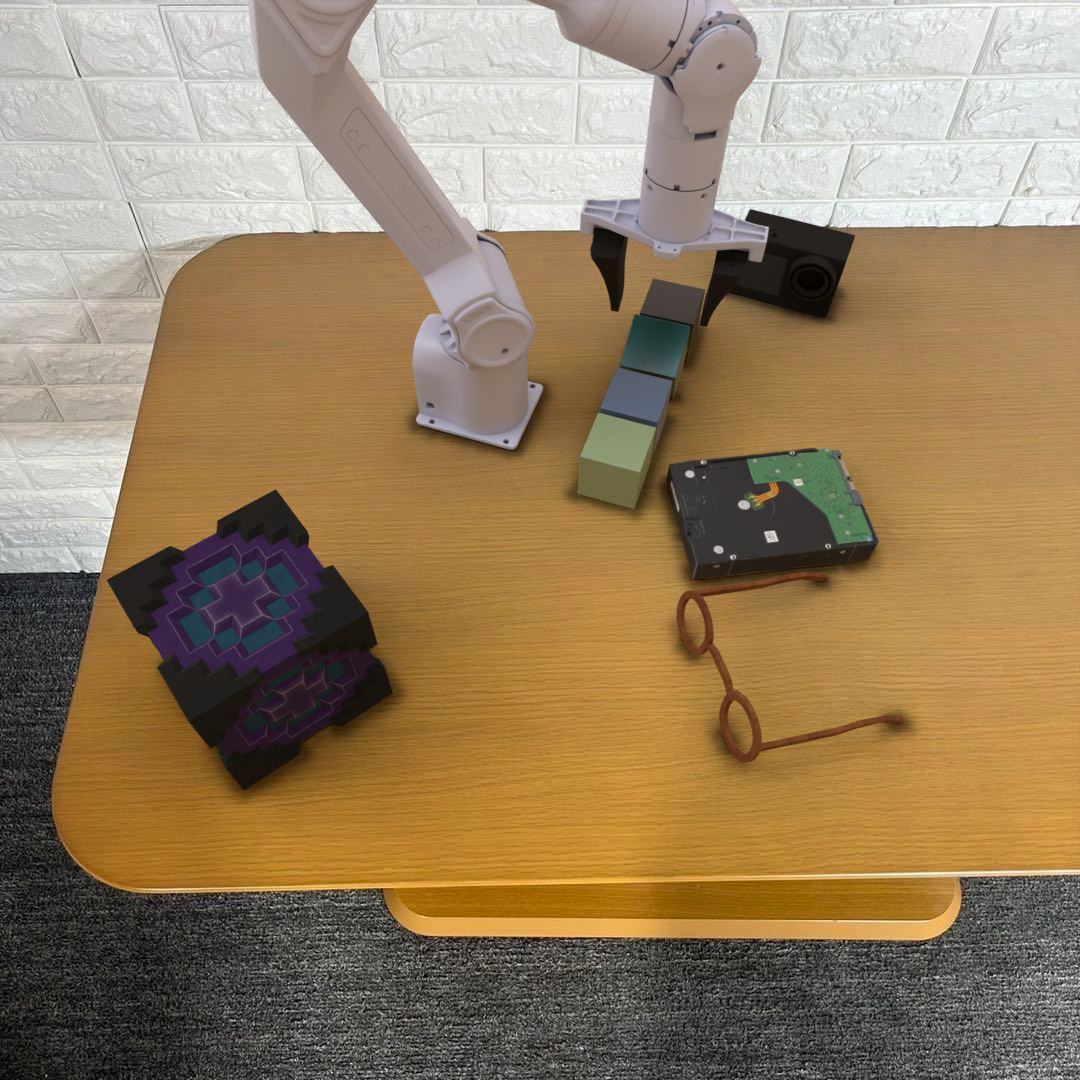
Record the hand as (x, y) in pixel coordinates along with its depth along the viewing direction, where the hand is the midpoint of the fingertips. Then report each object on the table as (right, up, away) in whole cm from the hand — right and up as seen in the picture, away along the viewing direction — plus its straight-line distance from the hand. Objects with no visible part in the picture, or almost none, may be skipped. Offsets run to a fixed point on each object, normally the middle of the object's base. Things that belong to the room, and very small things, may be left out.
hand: (660, 311), depth 77 cm
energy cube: (-30, -30, -11) cm, 44 cm away
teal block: (0, -4, +6) cm, 7 cm away
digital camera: (+14, +5, +13) cm, 19 cm away
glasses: (+8, -30, -10) cm, 32 cm away
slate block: (-2, -10, +2) cm, 11 cm away
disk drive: (+8, -18, -3) cm, 20 cm away
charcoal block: (+2, -1, +9) cm, 9 cm away
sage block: (-4, -15, -1) cm, 15 cm away
